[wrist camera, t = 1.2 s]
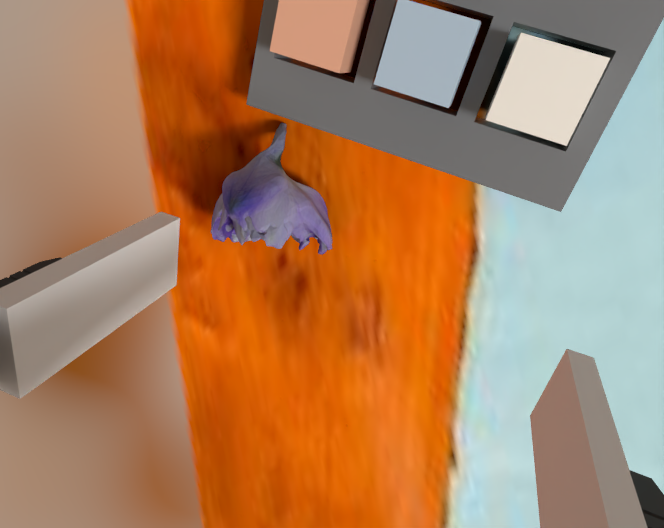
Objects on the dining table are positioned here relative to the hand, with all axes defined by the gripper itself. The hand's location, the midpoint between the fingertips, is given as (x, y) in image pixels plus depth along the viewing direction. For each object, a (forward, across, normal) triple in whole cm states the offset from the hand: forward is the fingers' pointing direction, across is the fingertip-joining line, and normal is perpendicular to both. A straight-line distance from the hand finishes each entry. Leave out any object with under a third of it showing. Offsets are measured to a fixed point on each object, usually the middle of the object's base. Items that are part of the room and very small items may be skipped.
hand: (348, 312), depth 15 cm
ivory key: (+17, +5, +7) cm, 19 cm away
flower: (+20, -10, -4) cm, 22 cm away
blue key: (+17, -2, +7) cm, 19 cm away
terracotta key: (+17, -8, +8) cm, 21 cm away
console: (+20, -2, +7) cm, 21 cm away
